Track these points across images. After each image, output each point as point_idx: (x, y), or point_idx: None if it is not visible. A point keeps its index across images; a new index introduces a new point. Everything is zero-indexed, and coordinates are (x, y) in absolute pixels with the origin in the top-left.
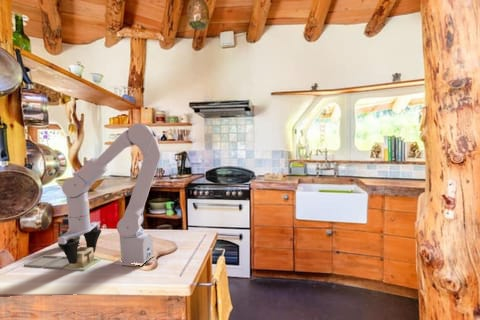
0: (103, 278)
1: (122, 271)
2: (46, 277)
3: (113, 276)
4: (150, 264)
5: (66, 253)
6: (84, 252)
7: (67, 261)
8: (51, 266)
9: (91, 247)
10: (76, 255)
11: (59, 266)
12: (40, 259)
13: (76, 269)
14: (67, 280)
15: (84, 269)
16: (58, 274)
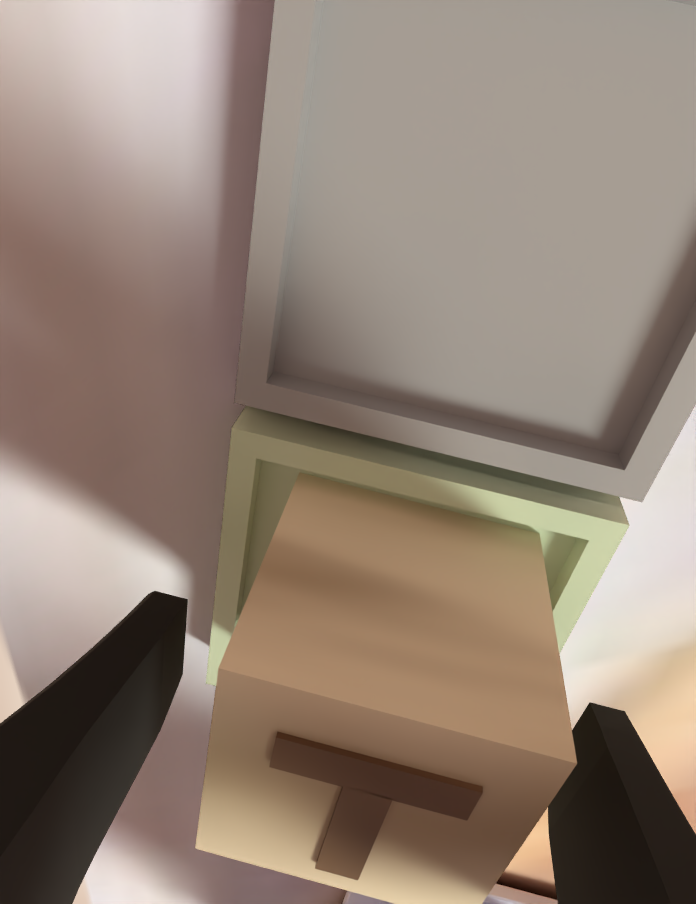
0: (120, 807)
1: (246, 887)
2: (11, 247)
3: (161, 852)
4: None
5: (9, 750)
6: (251, 863)
7: (561, 292)
8: (263, 131)
9: (580, 855)
10: (103, 813)
11: (264, 318)
12: None
13: (218, 589)
14: (19, 565)
15: (209, 677)
16: (123, 382)
